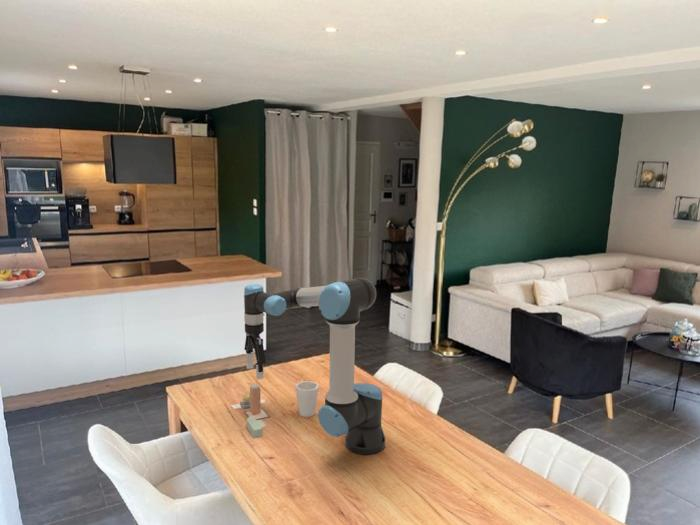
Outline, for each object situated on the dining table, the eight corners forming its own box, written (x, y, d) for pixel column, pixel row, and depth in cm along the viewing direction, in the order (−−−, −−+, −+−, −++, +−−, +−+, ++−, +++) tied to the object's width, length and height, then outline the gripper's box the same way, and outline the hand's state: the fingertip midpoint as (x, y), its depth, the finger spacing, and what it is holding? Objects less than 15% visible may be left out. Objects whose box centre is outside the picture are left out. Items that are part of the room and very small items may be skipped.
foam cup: (307, 422, 211) (307, 392, 209) (290, 415, 217) (290, 386, 214) (322, 414, 219) (323, 385, 216) (306, 407, 224) (306, 379, 222)
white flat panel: (286, 428, 206) (286, 424, 205) (252, 437, 199) (252, 432, 199) (262, 400, 230) (262, 396, 229) (231, 407, 223) (231, 402, 223)
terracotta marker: (260, 413, 216) (260, 385, 214) (252, 414, 215) (252, 387, 212) (257, 409, 219) (257, 382, 217) (250, 411, 217) (249, 384, 215)
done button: (252, 400, 222) (252, 396, 221) (244, 402, 220) (244, 397, 220) (250, 397, 225) (249, 392, 224) (241, 398, 223) (241, 394, 223)
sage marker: (262, 436, 198) (262, 428, 198) (254, 438, 197) (254, 430, 196) (253, 423, 207) (253, 415, 206) (245, 425, 205) (245, 417, 205)
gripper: (273, 329, 201) (273, 382, 205) (253, 314, 222) (254, 362, 226) (254, 332, 198) (255, 385, 202) (236, 316, 218) (237, 365, 222)
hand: (254, 373), depth 214 cm, fingers open, 12 cm apart
